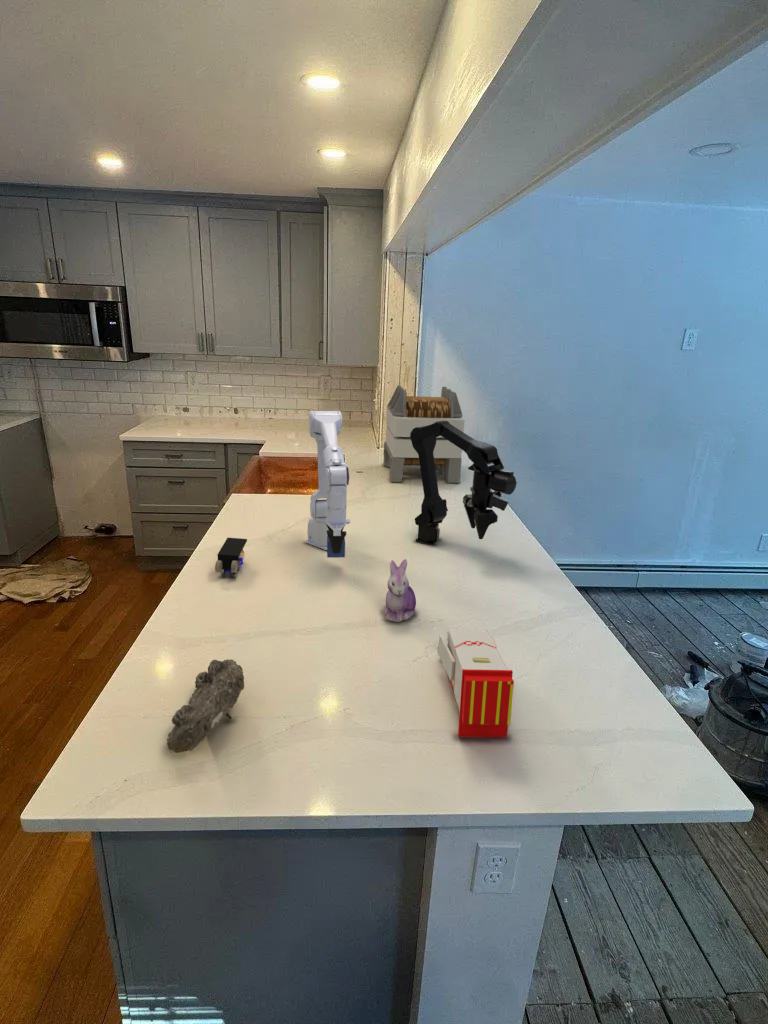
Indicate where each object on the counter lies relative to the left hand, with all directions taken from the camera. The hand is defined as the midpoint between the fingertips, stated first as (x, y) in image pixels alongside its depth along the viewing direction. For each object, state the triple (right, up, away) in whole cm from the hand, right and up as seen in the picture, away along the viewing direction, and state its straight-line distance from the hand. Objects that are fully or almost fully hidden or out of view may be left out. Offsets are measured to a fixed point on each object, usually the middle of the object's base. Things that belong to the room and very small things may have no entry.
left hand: (335, 549), depth 168 cm
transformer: (+32, +30, +107) cm, 115 cm away
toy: (+32, -26, -50) cm, 65 cm away
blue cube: (0, -1, +1) cm, 2 cm away
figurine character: (-31, -6, -1) cm, 31 cm away
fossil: (-18, -28, -60) cm, 69 cm away
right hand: (+44, +4, +11) cm, 45 cm away
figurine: (+18, -15, -21) cm, 32 cm away
